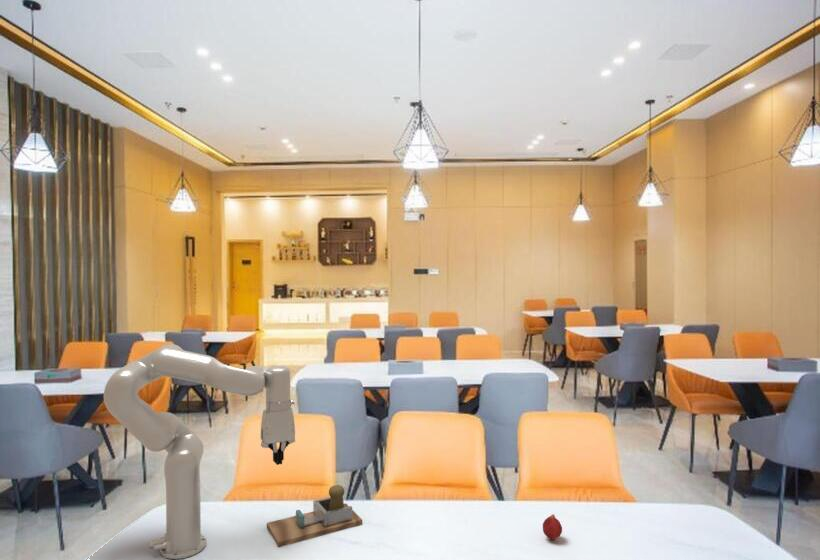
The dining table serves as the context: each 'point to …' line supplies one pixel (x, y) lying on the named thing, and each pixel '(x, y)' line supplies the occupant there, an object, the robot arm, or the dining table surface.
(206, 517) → the dining table surface
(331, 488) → the olive tapered rounded piece
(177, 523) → the robot arm
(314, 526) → the board
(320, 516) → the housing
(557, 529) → the onion
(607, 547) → the dining table surface
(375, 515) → the dining table surface
